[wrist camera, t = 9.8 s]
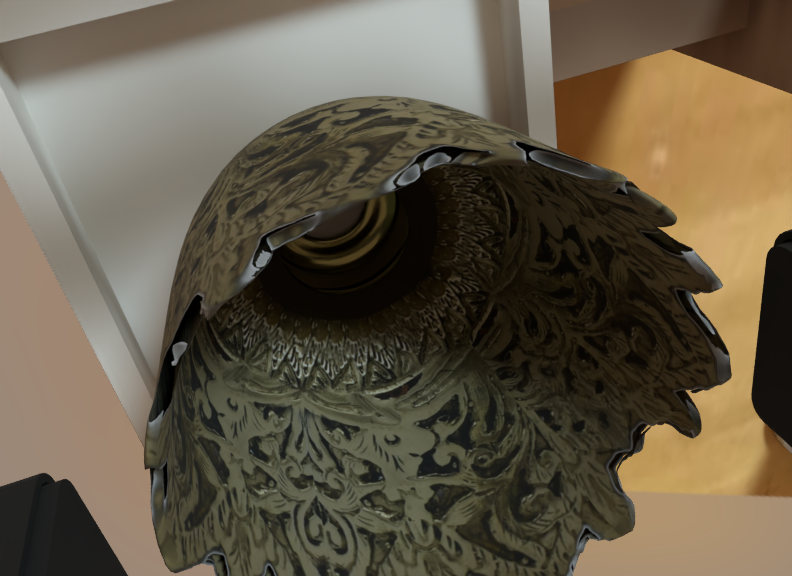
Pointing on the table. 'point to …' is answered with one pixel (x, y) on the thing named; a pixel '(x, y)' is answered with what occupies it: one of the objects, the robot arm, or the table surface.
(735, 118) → the table surface
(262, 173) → the cup
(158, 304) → the headboard
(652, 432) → the table surface
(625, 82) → the table surface
